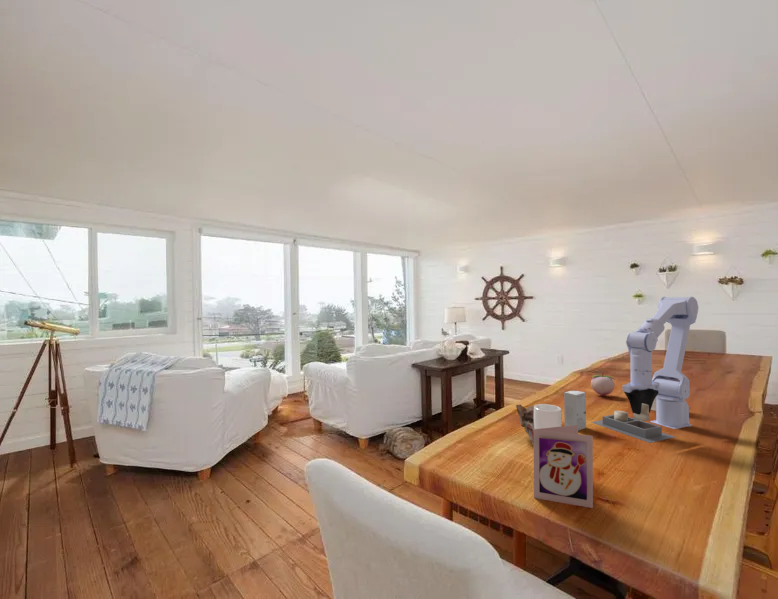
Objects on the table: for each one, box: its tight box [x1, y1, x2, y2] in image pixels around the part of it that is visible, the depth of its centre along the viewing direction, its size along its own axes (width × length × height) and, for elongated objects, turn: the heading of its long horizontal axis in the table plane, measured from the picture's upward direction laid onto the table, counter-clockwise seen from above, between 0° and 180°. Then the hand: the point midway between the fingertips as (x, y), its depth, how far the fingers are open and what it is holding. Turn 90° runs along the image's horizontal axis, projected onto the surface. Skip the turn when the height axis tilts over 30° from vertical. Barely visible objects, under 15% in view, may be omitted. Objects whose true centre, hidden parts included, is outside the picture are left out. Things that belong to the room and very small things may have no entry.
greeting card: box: [533, 425, 594, 509], centre depth 82 cm, size 11×7×15 cm, turn 69°
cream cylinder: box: [633, 403, 650, 422], centre depth 119 cm, size 4×4×4 cm
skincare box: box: [563, 390, 587, 431], centre depth 124 cm, size 6×4×12 cm
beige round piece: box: [613, 410, 629, 422], centre depth 125 cm, size 4×4×4 cm
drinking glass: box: [533, 403, 563, 429], centre depth 98 cm, size 7×7×15 cm
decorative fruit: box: [590, 373, 616, 397], centre depth 165 cm, size 9×8×10 cm
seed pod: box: [515, 404, 536, 447], centre depth 113 cm, size 13×16×15 cm
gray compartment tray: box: [590, 414, 676, 444], centre depth 122 cm, size 12×20×3 cm, turn 22°
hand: (641, 412), depth 119 cm, fingers closed on cream cylinder, 4 cm apart
